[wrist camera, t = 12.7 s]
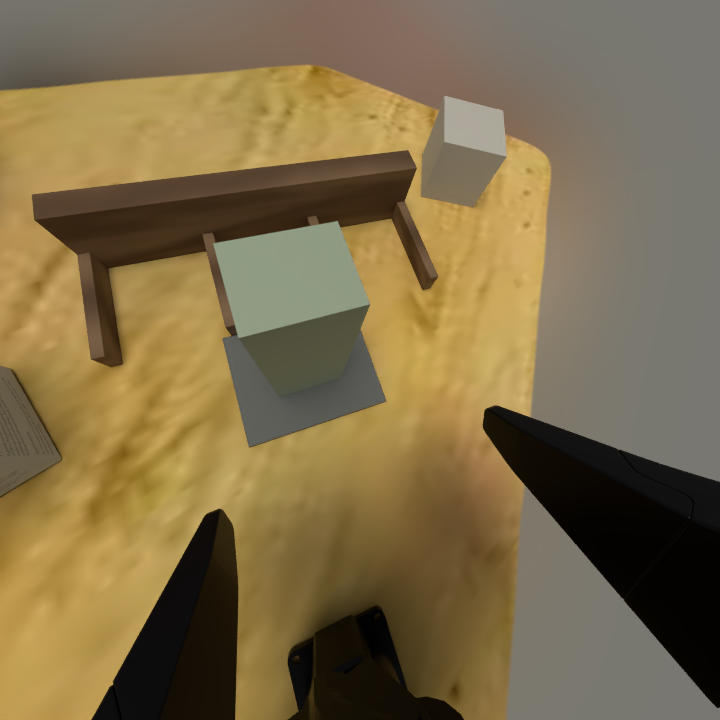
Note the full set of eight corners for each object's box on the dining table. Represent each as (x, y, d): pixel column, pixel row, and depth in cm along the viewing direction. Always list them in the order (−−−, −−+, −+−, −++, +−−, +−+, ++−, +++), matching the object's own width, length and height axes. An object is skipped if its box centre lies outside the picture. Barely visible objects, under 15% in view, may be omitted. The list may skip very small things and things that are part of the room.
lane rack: (429, 288, 28) (456, 251, 23) (110, 366, 22) (45, 341, 16) (391, 201, 30) (408, 150, 25) (93, 249, 24) (31, 194, 19)
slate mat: (385, 401, 24) (386, 400, 24) (250, 447, 21) (249, 447, 21) (351, 308, 26) (351, 306, 26) (223, 340, 23) (222, 338, 23)
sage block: (340, 378, 24) (369, 304, 11) (279, 397, 22) (238, 338, 10) (325, 334, 24) (337, 220, 12) (265, 350, 23) (213, 243, 11)
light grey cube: (420, 197, 31) (444, 141, 25) (421, 156, 33) (444, 95, 27) (472, 208, 32) (507, 156, 26) (471, 167, 34) (503, 110, 28)
